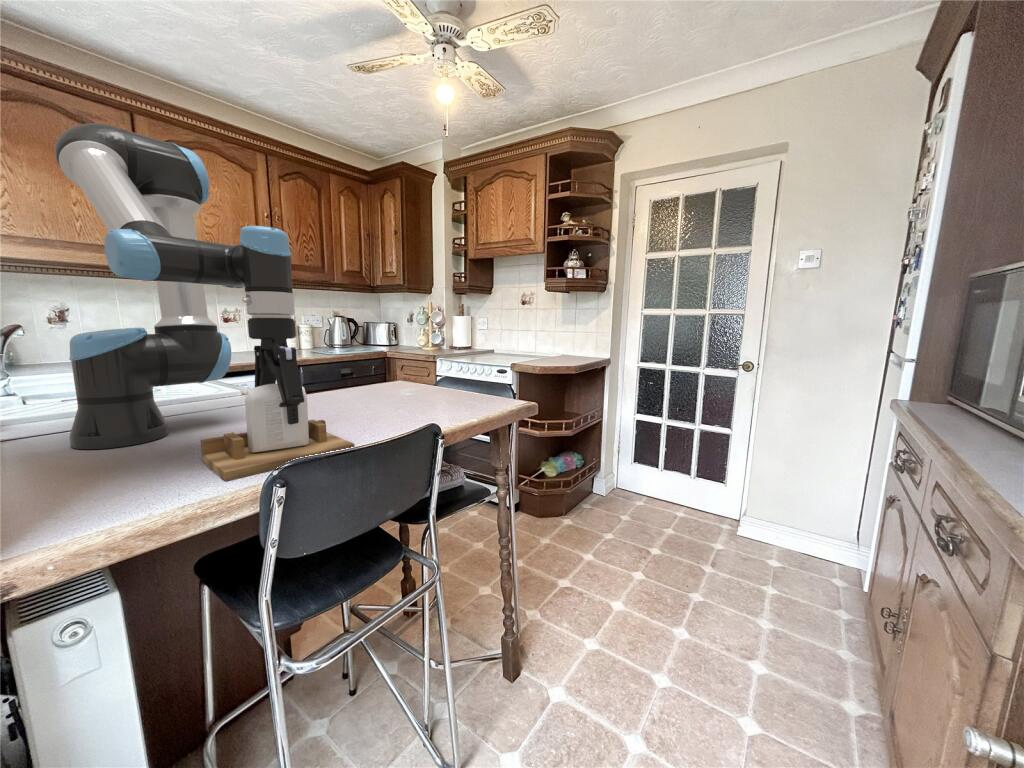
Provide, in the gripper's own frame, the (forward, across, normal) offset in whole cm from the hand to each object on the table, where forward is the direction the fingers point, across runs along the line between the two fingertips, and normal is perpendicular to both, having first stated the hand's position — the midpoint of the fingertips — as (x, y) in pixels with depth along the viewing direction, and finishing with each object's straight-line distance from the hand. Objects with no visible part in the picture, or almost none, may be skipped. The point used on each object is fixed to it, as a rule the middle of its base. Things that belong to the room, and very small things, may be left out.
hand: (281, 435), depth 78 cm
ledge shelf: (+4, 0, 0) cm, 4 cm away
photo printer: (+3, -1, 0) cm, 3 cm away
